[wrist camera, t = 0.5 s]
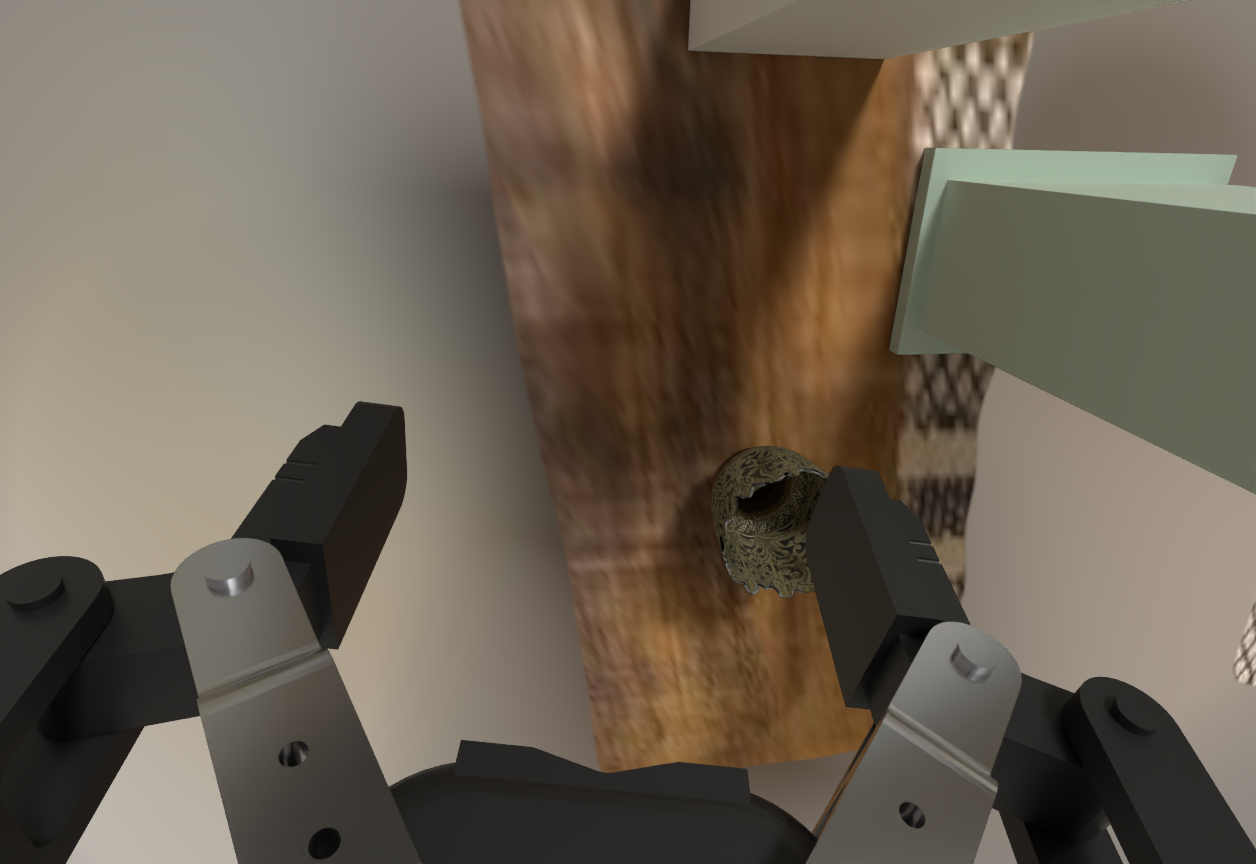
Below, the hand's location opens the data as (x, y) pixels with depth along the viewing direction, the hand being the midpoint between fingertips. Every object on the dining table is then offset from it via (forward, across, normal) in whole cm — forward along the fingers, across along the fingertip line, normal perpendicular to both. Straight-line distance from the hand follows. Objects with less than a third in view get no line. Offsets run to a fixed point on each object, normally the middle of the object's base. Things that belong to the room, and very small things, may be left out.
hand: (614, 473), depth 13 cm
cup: (+24, -10, +17) cm, 31 cm away
